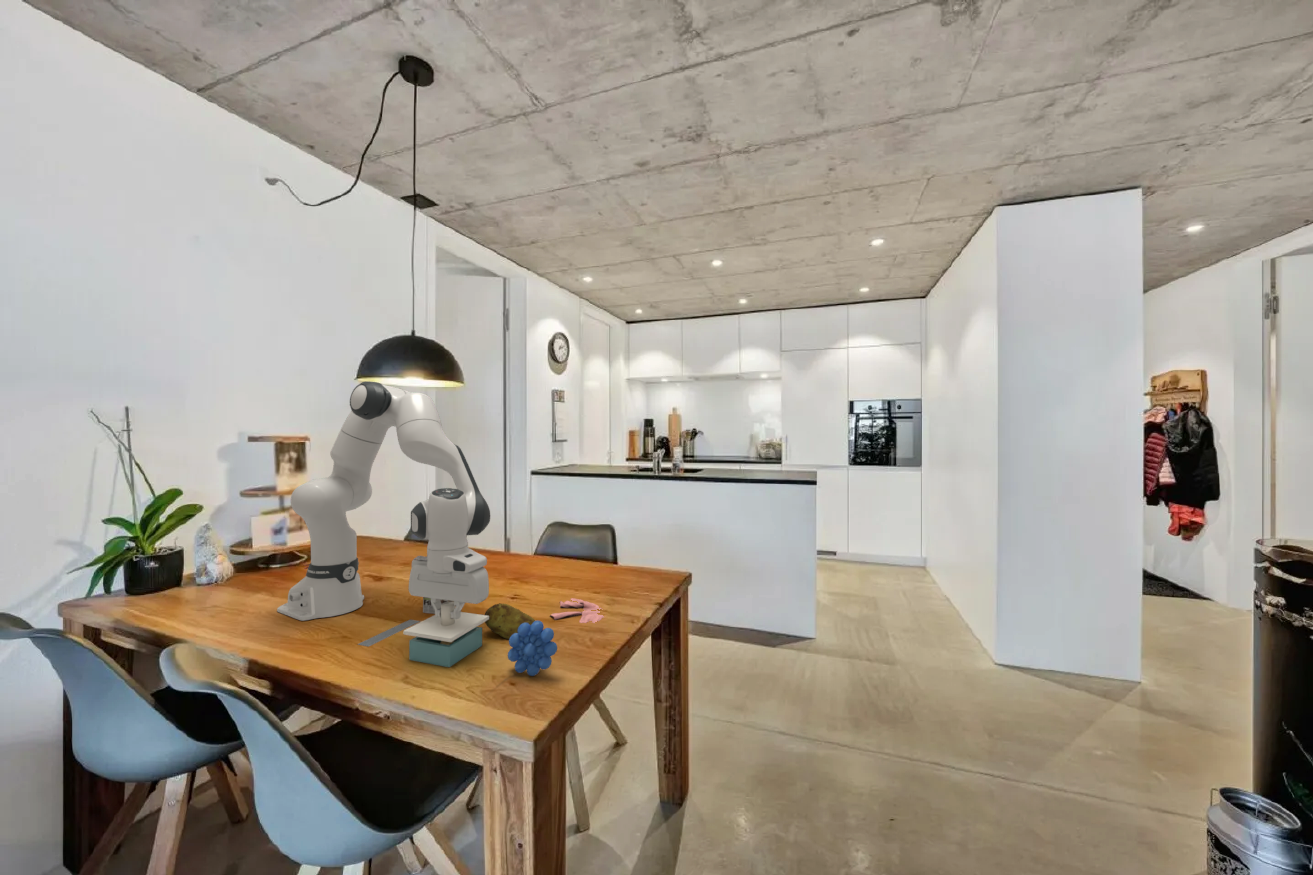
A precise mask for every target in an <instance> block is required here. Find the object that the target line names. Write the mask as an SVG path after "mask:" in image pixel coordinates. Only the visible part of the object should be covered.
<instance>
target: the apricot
mask: <svg viewBox="0 0 1313 875" xmlns="http://www.w3.org/2000/svg"><path fill="white" fill-rule="evenodd" d="M453 642H454V641H452V642H447V641H441V643H440V644H445V645H450V644H452V643H453Z"/></svg>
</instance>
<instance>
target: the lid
mask: <svg viewBox="0 0 1313 875" xmlns="http://www.w3.org/2000/svg"><path fill="white" fill-rule="evenodd" d="M455 607H456V606H455V605H454V602H445V603H442V604H441V617H436V616H435V614H433V615H432V616H430V617H428V618H426V619H424V620H421V621H420V622H418V623H416V624H414V625H412V626H410V627H408V628H406V629H404V630H402V632H403V633H402V634H403V635H406V636H410V637H411V636H412V637H423V638H429V639H435V640H441V641H447V642H452V641H454V640H455V639H457V638H459V637H460V636H462V635H464V634H465V633H467V632H469V631H470V630H472V629H474V628H475V627H480V625H482V624H484V623H485V621H487V620H488V619H489V616H487V615H485V614H477V613H472V612H464V611H461V617H460V618H459V619H457V620H456V619H451V618H450V616H451V615H450V612H451V611H454V609H455Z"/></svg>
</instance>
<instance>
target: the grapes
mask: <svg viewBox="0 0 1313 875" xmlns="http://www.w3.org/2000/svg"><path fill="white" fill-rule="evenodd" d="M544 627H545V626H544V622H543V621H541V620H539V619H538V620H535V621H534V622H533V623H532V624H531V626H530V624H528V623H522V624H521V625H520V626H519V627H518V630H517V631H518V633H514V634H512V635H511V637H510V638H509V639H508V644H509V647H510V649H509V650H508V652H507V660H509V661H510V662H515V663H514V670H515V672H517V673H518V674H522V673H524V672H526V674H527V675H528V676H530V677H534V676H536V675H538V674H539V672H540V669H541V670H543V671H544V670H547V669H549V668H550V667H551V665H552V663H553V662H552V657H553V656H554V655H555V654H556V653H557V651H558V645H557V643H556V642H555V641H552V640H553V639H554V636H555V633H554V630H553V629H552V628H551V627H546V628H544Z"/></svg>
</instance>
